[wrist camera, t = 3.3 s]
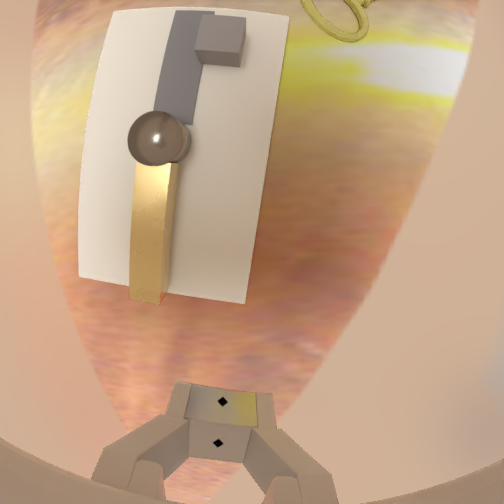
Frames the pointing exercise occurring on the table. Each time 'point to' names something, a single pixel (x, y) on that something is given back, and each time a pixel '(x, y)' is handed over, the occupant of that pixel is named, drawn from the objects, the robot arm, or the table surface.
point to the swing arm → (154, 201)
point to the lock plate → (202, 140)
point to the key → (355, 3)
